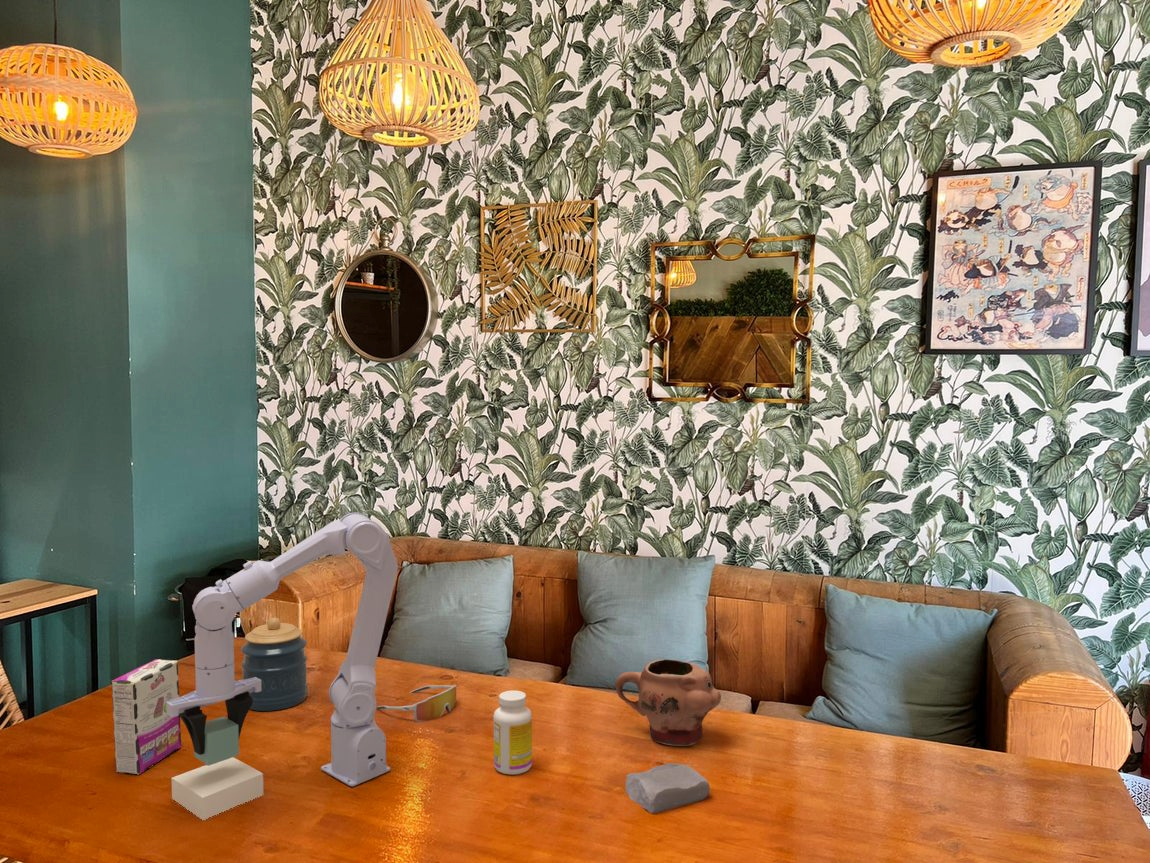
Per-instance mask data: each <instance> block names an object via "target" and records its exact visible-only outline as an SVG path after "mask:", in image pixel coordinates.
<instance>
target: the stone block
mask: <svg viewBox="0 0 1150 863" xmlns="http://www.w3.org/2000/svg"><path fill="white" fill-rule="evenodd" d="M710 790H711V788H710V783H709V781H708V779H706V778H705V777H704V776H703V775H702V774H700V773H699V772H698V771H697V770H695V769H694V768H693V767H691V766H690V765H687V764H683V763H676V762H675V763H673V762H669V763H667V764H662V765H661V764H660V765H657V766H654V767H652V768H651V769H648V770H646V771H641V772H632V773H628V774H627V773H626V780H625V793H626V794H627V796H628V797H629V799H630V800H631V801H633V802H634V803H636V804H639V805H640V807H641V808H642V809H644V810H646V811H647V812H648V813H650V814H651V815H652V814H658V813H661V812H665V811H669V810H672V809H677V808H681V807H683V806H686V805H691V804H694V803H698V802H700V801H703V800H705V799H706V798H708V796H709V794H710Z"/></svg>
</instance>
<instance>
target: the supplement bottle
mask: <svg viewBox="0 0 1150 863" xmlns="http://www.w3.org/2000/svg"><path fill="white" fill-rule="evenodd" d="M498 703H499V705H500V707H497V708H496V709H495V711H494V712H493V765H494V768H495V770H496V771H497V772H499V773H500V774H505V775H512V776H514V775H520V774H523V773H525V772H528V771H529V770H530V769H531V767H532V765H533V729H532V727H533V725H532V724H533V718H532V716H533V715H532V711H531V709H530V708H529V707H527V706H526V703H527V695H526V692H523V691H520V690H506V691H503V692H501V693H500V694H499V695H498Z"/></svg>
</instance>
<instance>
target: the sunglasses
mask: <svg viewBox="0 0 1150 863" xmlns="http://www.w3.org/2000/svg"><path fill="white" fill-rule="evenodd" d="M438 689H445V690H444V691H441V692H440V693H438V694H435V695H432V696H429V697H426V699H424V700H422V701H419V702H415V703H414V704H412V705H403V706H389V705H378V706H376V707H377V708H376V709H377V710H378V709H379V711H380V710H387V711H397V710H398V711H403V712H410V711H413V712H412V713H413V718H414V721H415V722H417V721H418V722H425V721H430V720H434V719H437V718H441V717H442V716H443V715H444V712H445V711H447V712H449V713H451V712H452V711H453V709H454V708H455V706H456V702H457V701H456V700H457V685H456V684H454V685H445V684H444V685H442V684H441V685H440V684H439V685H431V684H430V685H425V686H422V687H419V688H415V689H413V690H412V691H410V692H409V693H410V694H416V693H419V692H423V691H425V690H438Z"/></svg>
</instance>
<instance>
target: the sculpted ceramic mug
mask: <svg viewBox="0 0 1150 863" xmlns="http://www.w3.org/2000/svg"><path fill="white" fill-rule="evenodd" d="M614 683H615V685H614V686H615V687H614V688H615V691H616V693H617V696H618V697H619V698H620V700H622V701H624V702H625V703H626V704H627V705H629V707H631V708H632V709H633V710H634V711H636V712H637V713H638V714H639V715H641V716H643V717H645V716H646V719H647V721H648V723H649V731H650V737H651V739H652V740H653V741H654V742H655V743H656V742H657V743H661V744H663V745H668V746H678V747H687V746H693V745H696V744H697V743H698V742H700V741H701V739H702V737H703V721H704V718H706V716H707V715H708V713H709V712H711V711H712V710H714V709H715V708H717V706H719V705H720V703H721V699H722V694H721V692H720V691H719V690H718V689H717V688H715V687H714V685H713V681H712V676H711V674H710V672H709V671H707V670H706V669H703V668H702V667H700V666H699V665H697V664H695V663H693V662H687V661H682V660H675V659H663V658H662V659H657V660H654V661H650V662H648V663H646V665H645V666H644V668H643V671H626V672H623V673H621V674H620V675H619V676H618V677H617V679H616V681H615V682H614ZM626 683H634V684H635V685H636V686H637V688H638V700H635V701H634V700H630V699H628V698H627V697H626V696H625V695H624V693H623V688H624V685H625V684H626Z"/></svg>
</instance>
